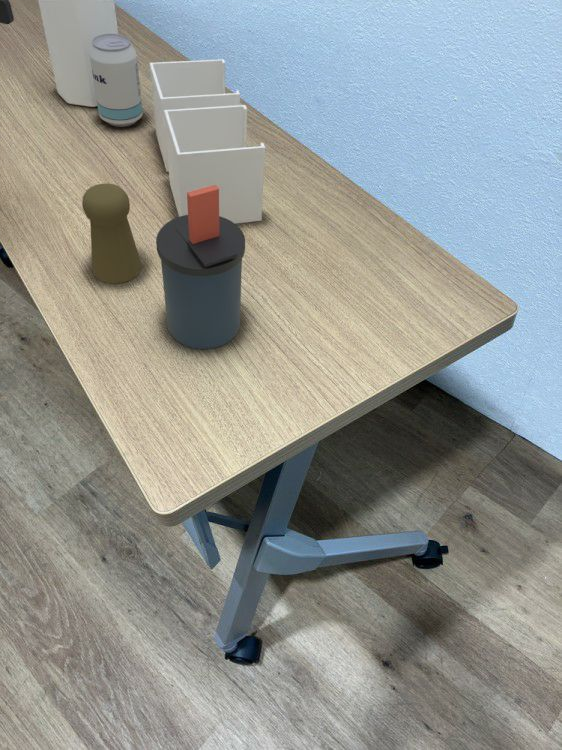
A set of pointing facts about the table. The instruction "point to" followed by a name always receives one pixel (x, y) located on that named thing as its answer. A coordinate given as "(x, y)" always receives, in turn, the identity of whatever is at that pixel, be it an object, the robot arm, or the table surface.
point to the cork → (111, 234)
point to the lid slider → (206, 227)
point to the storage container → (206, 138)
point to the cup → (75, 43)
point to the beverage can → (116, 79)
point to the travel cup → (200, 286)
